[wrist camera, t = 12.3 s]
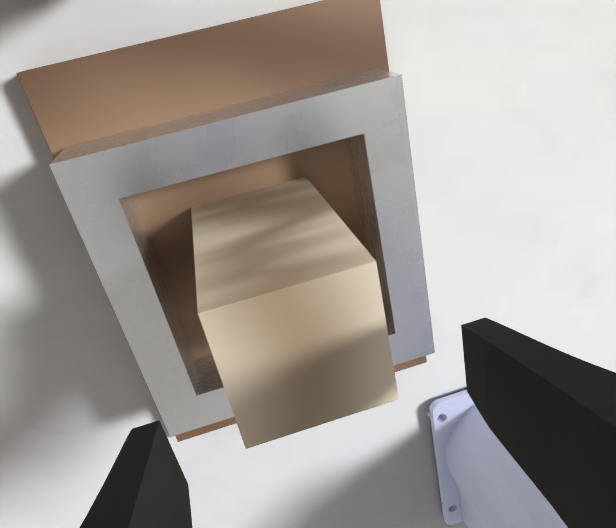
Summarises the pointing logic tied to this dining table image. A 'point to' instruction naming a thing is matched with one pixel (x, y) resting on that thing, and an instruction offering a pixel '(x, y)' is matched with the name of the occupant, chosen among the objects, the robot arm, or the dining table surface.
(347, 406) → the peg
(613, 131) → the dining table surface
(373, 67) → the collar board
